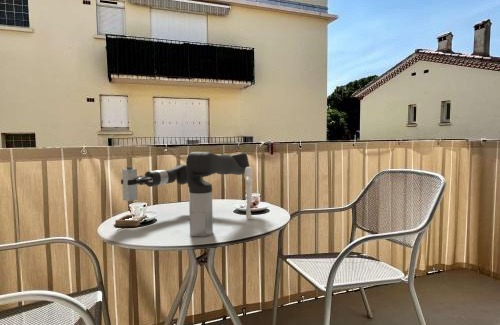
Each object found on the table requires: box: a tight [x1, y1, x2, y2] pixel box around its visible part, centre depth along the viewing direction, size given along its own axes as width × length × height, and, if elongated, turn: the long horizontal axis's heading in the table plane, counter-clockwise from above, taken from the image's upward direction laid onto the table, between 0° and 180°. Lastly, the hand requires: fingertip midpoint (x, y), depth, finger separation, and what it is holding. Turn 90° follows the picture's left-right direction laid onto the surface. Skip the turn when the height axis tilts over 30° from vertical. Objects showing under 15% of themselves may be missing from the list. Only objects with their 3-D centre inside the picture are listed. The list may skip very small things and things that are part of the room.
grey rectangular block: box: [121, 166, 139, 202], centre depth 141 cm, size 4×4×15 cm
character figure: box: [243, 166, 255, 220], centre depth 148 cm, size 24×5×25 cm, turn 0°
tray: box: [114, 214, 148, 227], centre depth 142 cm, size 10×10×2 cm
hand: (124, 182), depth 139 cm, fingers closed on grey rectangular block, 4 cm apart
